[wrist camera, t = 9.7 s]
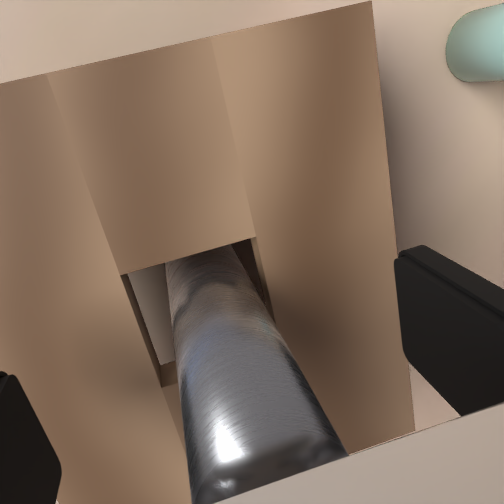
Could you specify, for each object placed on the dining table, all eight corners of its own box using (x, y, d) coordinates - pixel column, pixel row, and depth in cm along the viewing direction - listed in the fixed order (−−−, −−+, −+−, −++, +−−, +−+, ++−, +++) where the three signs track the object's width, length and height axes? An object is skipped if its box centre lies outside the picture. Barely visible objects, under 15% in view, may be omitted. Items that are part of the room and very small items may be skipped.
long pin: (219, 210, 18) (344, 408, 7) (234, 269, 19) (365, 527, 8) (155, 228, 17) (171, 469, 6) (173, 287, 18) (217, 586, 7)
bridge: (300, 29, 16) (371, 0, 11) (351, 350, 21) (415, 430, 16) (-47, 108, 14) (-150, 117, 9) (100, 432, 20) (84, 549, 15)
